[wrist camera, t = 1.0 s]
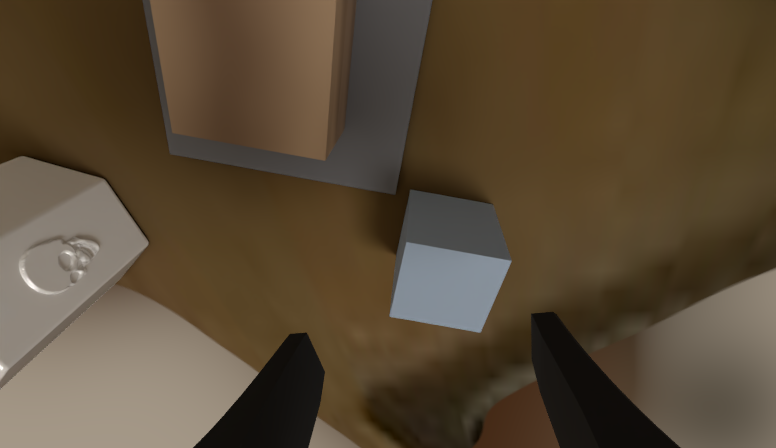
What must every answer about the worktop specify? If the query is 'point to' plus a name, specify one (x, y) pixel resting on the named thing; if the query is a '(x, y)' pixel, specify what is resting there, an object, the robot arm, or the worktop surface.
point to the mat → (364, 104)
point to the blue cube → (448, 262)
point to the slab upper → (254, 71)
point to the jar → (55, 253)
